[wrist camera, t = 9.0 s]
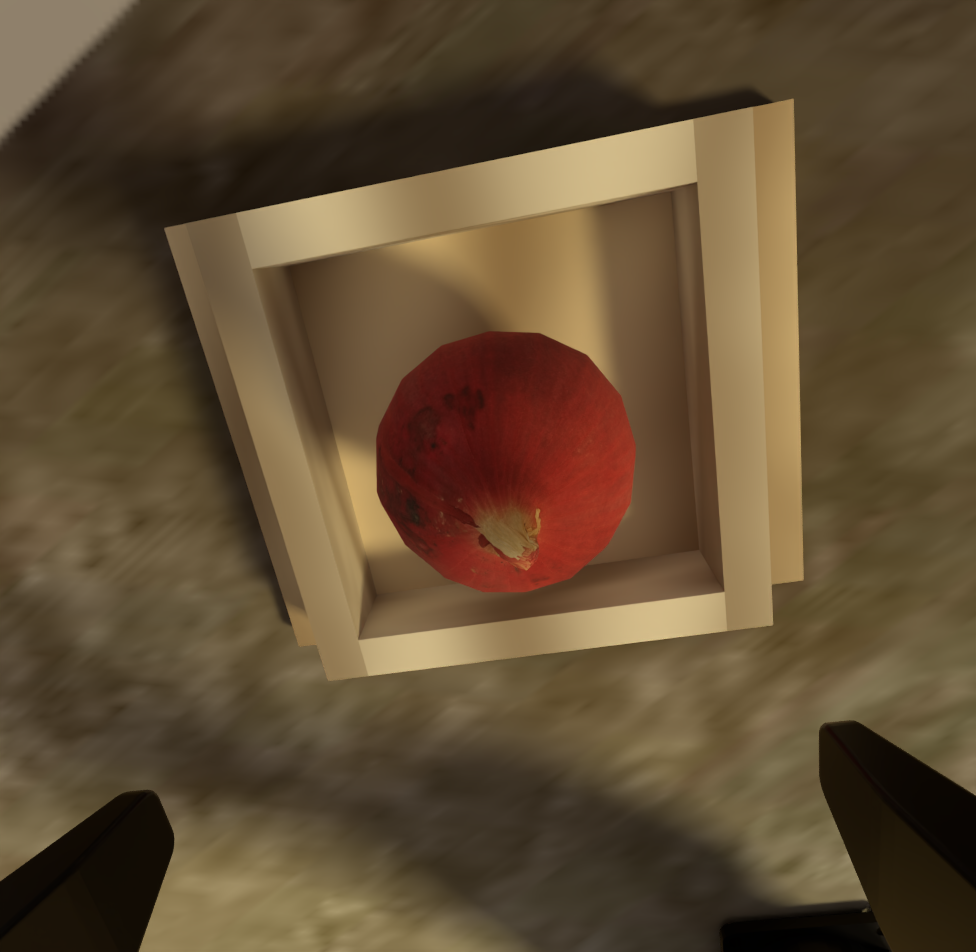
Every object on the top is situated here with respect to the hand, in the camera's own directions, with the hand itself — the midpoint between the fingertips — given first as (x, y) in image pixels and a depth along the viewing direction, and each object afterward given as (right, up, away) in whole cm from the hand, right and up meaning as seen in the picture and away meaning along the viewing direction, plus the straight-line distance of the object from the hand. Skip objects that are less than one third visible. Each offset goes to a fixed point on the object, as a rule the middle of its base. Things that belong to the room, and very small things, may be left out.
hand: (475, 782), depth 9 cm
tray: (+1, +6, +10) cm, 12 cm away
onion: (+1, +6, +10) cm, 11 cm away
